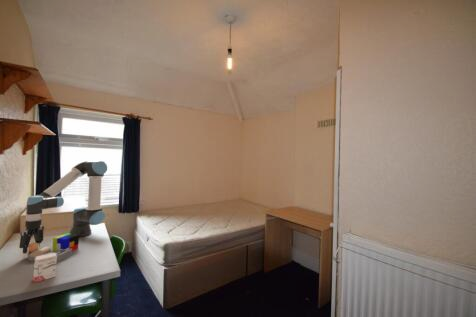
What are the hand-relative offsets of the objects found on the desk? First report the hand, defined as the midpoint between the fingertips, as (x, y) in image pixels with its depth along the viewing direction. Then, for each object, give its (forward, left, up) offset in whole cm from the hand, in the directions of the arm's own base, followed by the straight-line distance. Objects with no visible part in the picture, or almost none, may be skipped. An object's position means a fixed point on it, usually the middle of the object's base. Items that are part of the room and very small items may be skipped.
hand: (30, 255), depth 134 cm
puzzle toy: (-11, +13, -1) cm, 17 cm away
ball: (0, 0, +5) cm, 5 cm away
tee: (0, 0, -1) cm, 1 cm away
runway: (0, +13, -2) cm, 13 cm away
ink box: (+23, +30, -1) cm, 38 cm away
